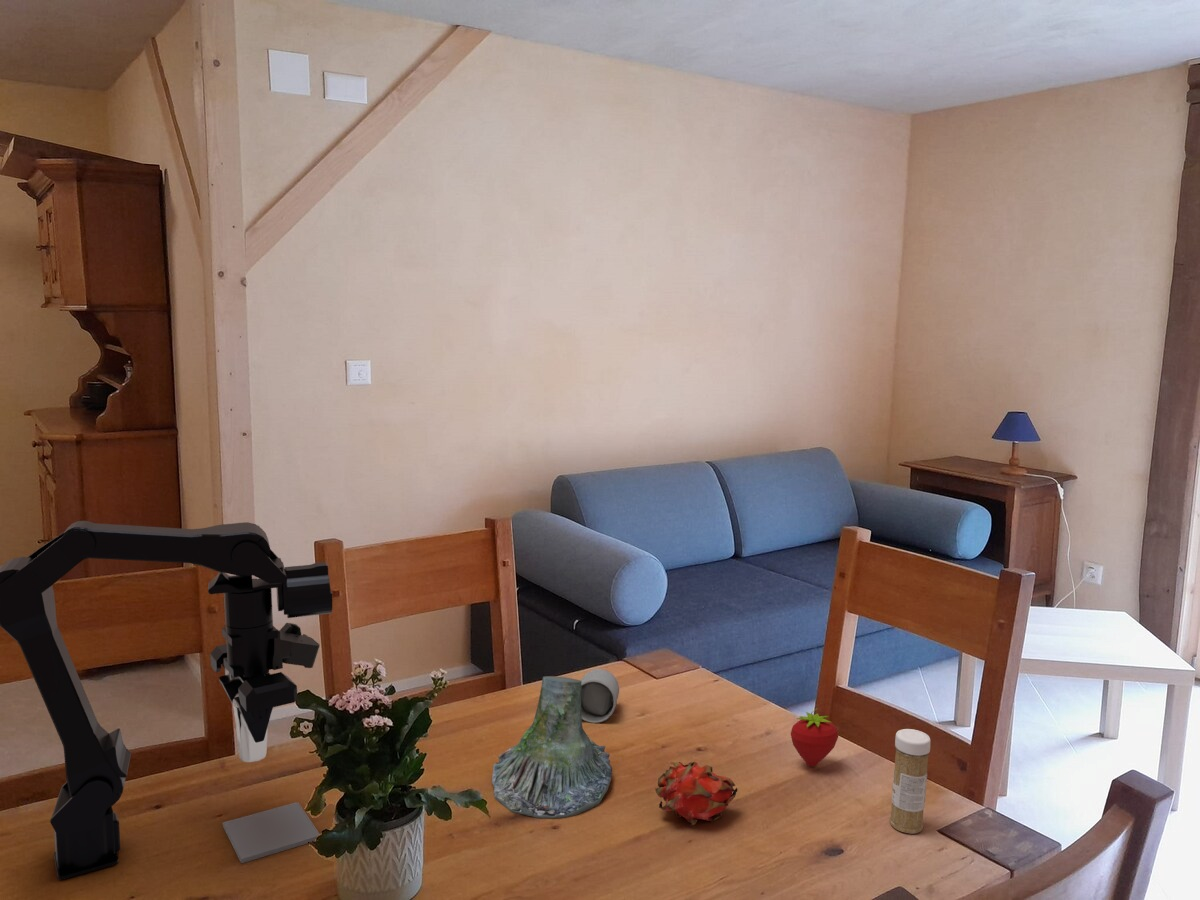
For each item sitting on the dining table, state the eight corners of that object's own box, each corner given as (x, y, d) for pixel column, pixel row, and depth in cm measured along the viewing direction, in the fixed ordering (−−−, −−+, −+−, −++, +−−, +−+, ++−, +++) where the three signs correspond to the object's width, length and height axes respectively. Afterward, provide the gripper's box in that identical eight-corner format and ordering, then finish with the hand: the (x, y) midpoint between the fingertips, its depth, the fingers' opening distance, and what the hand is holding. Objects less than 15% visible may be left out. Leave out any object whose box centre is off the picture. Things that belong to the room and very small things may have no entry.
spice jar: (891, 814, 129) (897, 725, 127) (925, 822, 128) (932, 731, 126) (887, 830, 125) (894, 738, 123) (922, 838, 123) (929, 745, 122)
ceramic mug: (620, 705, 164) (620, 664, 163) (615, 725, 156) (615, 682, 155) (562, 702, 166) (562, 661, 164) (554, 721, 157) (554, 679, 156)
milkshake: (265, 768, 117) (263, 695, 116) (227, 763, 118) (224, 690, 117) (283, 751, 122) (281, 680, 120) (247, 746, 123) (244, 676, 121)
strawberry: (843, 774, 141) (847, 712, 139) (797, 777, 139) (801, 715, 138) (826, 756, 147) (830, 697, 145) (782, 759, 145) (785, 700, 144)
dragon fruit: (646, 825, 128) (727, 833, 130) (662, 818, 121) (748, 826, 122) (648, 762, 132) (727, 770, 134) (664, 752, 125) (747, 761, 126)
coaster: (241, 863, 114) (241, 859, 114) (222, 826, 122) (222, 822, 122) (320, 839, 120) (320, 835, 120) (297, 805, 128) (297, 801, 128)
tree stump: (463, 808, 129) (472, 679, 131) (520, 777, 148) (527, 665, 150) (584, 827, 123) (592, 692, 125) (628, 793, 142) (634, 676, 144)
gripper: (335, 629, 115) (339, 746, 117) (289, 593, 130) (293, 697, 132) (244, 647, 108) (250, 770, 111) (206, 607, 123) (212, 716, 125)
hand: (254, 735), depth 120 cm, fingers closed on milkshake, 4 cm apart
